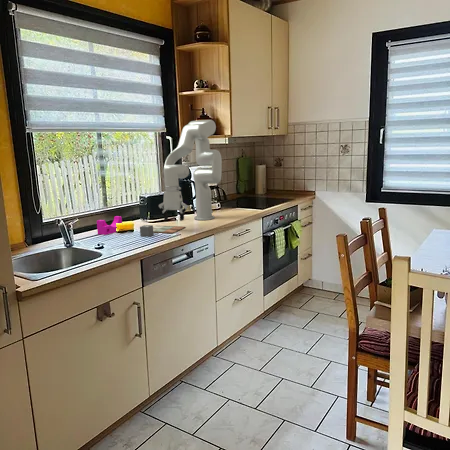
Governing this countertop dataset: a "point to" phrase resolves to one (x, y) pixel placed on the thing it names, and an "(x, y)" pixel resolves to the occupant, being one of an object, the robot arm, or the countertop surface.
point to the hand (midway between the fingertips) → (174, 219)
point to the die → (146, 230)
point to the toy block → (108, 226)
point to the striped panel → (167, 229)
